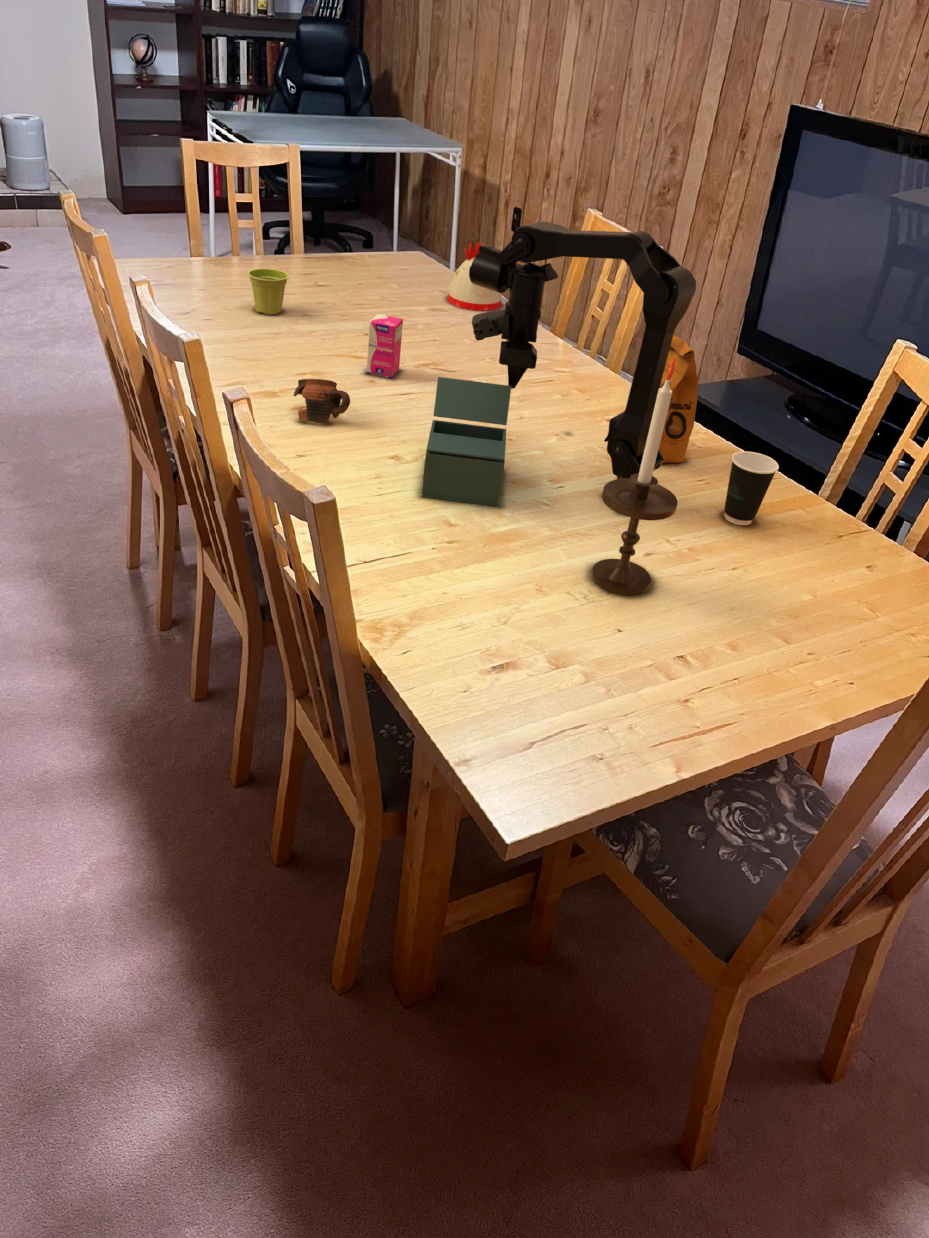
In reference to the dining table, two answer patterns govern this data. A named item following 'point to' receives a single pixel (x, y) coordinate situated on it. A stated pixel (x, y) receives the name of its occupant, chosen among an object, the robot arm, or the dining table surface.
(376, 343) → the supplement box
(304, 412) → the pottery mug
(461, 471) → the carton
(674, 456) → the coffee package
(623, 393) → the dining table surface
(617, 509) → the candlestick
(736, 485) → the dixie cup
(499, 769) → the dining table surface
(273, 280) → the plant pot
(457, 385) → the flap
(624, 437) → the robot arm
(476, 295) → the kitchen timer
